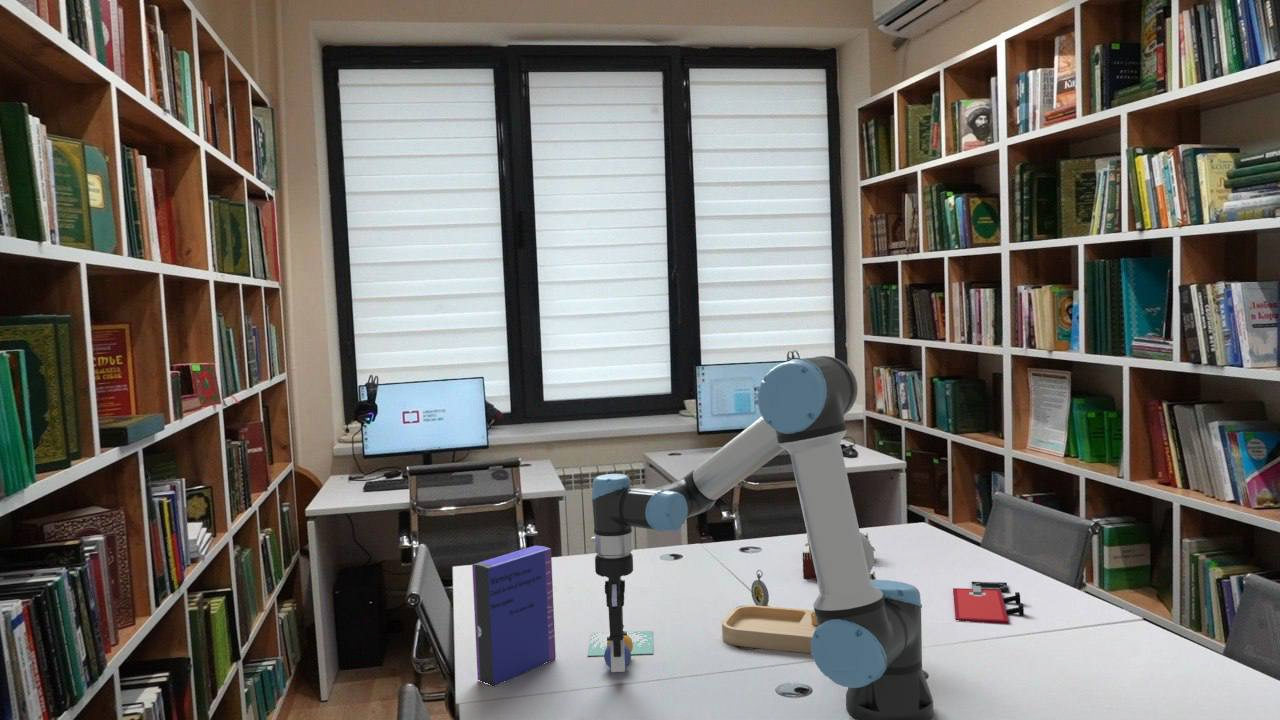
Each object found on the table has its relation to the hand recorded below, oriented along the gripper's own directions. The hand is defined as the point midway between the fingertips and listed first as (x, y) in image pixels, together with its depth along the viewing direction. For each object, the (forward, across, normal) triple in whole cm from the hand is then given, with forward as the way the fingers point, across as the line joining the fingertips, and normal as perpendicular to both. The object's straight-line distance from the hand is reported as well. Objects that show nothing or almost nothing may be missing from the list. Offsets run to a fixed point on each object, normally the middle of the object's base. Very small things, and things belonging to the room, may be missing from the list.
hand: (618, 670), depth 183 cm
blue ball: (-1, -6, 0) cm, 6 cm away
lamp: (+2, -20, +39) cm, 44 cm away
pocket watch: (+2, -37, +31) cm, 49 cm away
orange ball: (-1, -11, 0) cm, 11 cm away
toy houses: (+3, -66, +59) cm, 88 cm away
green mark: (+2, -20, 0) cm, 20 cm away
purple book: (+2, -7, -21) cm, 22 cm away
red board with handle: (+3, -39, +88) cm, 96 cm away
